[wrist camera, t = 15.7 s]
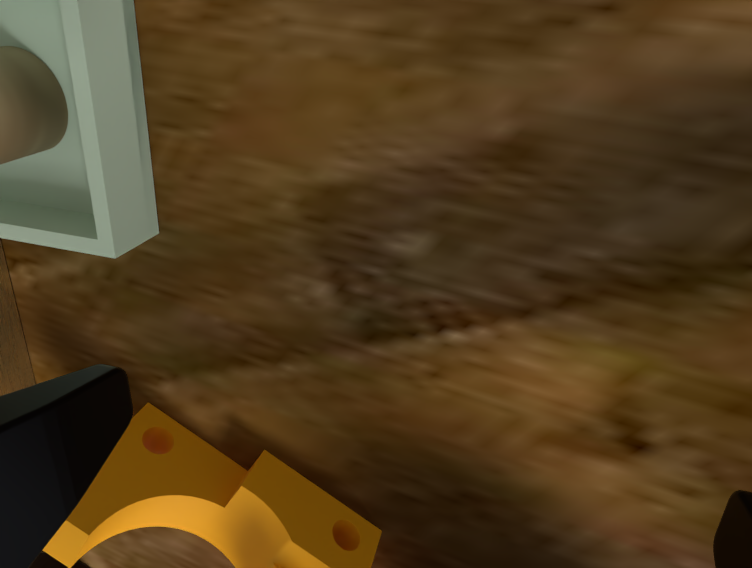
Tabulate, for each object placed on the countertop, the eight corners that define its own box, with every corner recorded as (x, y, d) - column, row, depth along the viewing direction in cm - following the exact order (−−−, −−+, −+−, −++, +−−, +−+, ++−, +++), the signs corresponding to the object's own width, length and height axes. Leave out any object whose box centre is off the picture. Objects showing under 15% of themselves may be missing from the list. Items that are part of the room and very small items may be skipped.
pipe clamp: (383, 528, 26) (339, 670, 20) (335, 571, 28) (284, 712, 23) (163, 375, 26) (56, 479, 20) (132, 432, 28) (27, 540, 22)
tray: (159, 233, 22) (115, 258, 20) (-35, 201, 24) (-95, 220, 22) (130, -33, 18) (71, -40, 16) (-99, -48, 20) (-182, -56, 18)
